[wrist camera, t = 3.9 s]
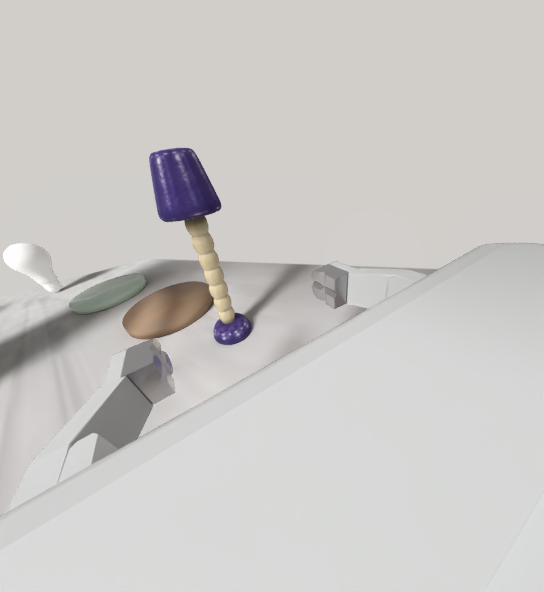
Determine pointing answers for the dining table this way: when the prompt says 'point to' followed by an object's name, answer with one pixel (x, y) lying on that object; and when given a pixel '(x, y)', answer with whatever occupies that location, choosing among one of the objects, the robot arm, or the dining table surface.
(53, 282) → the lightbulb
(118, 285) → the sage coaster
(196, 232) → the toy lamp
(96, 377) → the dining table surface
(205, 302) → the walnut coaster
